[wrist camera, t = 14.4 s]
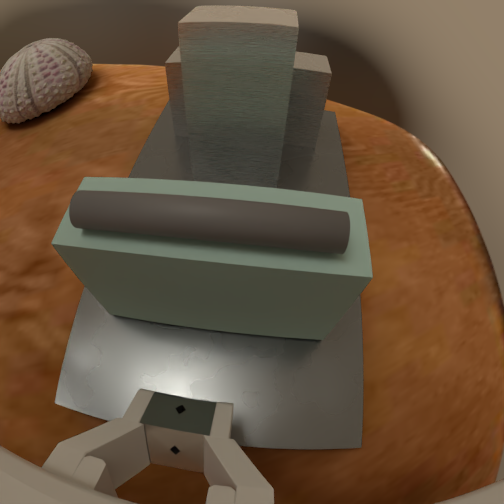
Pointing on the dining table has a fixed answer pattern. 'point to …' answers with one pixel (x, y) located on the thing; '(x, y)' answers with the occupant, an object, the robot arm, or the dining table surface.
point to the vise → (228, 343)
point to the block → (237, 90)
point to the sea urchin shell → (41, 78)
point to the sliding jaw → (217, 254)
